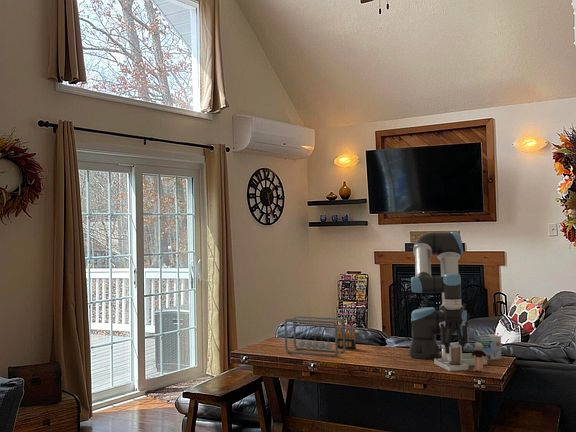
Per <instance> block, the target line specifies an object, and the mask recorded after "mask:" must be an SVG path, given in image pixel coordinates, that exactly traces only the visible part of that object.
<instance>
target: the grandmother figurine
mask: <svg viewBox="0 0 576 432" xmlns="http://www.w3.org/2000/svg"><path fill="white" fill-rule="evenodd" d="M482 347H483V346H482V344H481V343H480V342H476V343H475V342H474V350H473V351H472V352H471V353H472V355H471V358H473V357H474V355H475V366H474V368H473V369H472V371H473V372H478V371H483V372H484V365H483V357H482V356H484V357H485V359H486V360H487V361H489V360H488V358H487V355H486V354H485V353H484V352H483V351H481V348H482ZM475 348H476V350H475Z"/></svg>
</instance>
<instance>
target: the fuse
mask: <svg viewBox="0 0 576 432" xmlns="http://www.w3.org/2000/svg"><path fill="white" fill-rule="evenodd" d="M441 359H442V361H443V362H450V361H448V360H447V353H446V352H445V345H442V344H441Z"/></svg>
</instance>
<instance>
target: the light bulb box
mask: <svg viewBox="0 0 576 432" xmlns="http://www.w3.org/2000/svg"><path fill="white" fill-rule="evenodd" d="M501 340H502V336H500V335H497V334H494V333H493V334H480V335H479V334H478V335H474V344H475V343H476V342H480V343H481V344H482V346H483V347H482V348H481V351H483V352H484V353H485V354H486V355H487V358H488V360H487V361H490V360H501V359H502V341H501ZM475 350H476V348H475V347H474V351H475ZM483 357H484V356H483Z"/></svg>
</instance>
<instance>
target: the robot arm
mask: <svg viewBox="0 0 576 432" xmlns="http://www.w3.org/2000/svg"><path fill="white" fill-rule="evenodd" d="M412 253H413V256H414V258H415V259H414V260H415V261H414V269H415V270H414V271H415V272H414V273H415V274H414V275H415V276H412V277H411V279H410V287H411V292H412V293H418V294H419V293H420V294H423V293H424V294H426V293H427V294H429V293H431V294H433V293H434V294H435V293H436V294H437V293H438V294H439V293H441V300H442V304H441V305H440V306H439V310H436V308H435V307H430V306H429V307H421V308H417V309H414V310H412V312H411V319H410V321H411V341H410V346H409V350H408V356H409V357H411V358H414V359H420V360H421V359H423V360H424V359H427V360H428V359H435V358H436V359H438V358H440V357H441V351H440V348H439V347H440V346H439V344H438V342H437V335H439V336H440V344H441V346H442V345H445V352H446V353H447V360H448V361H452V359H451V346H449V345H450V343H451V339H452V336H456V337H457V343H459V352H460V360H462V354H463V353H464V350H465V349H464V347H465V345H467V344H468V325H469V322H468V321H467V319H468V311H467V310H465V309H464V306H463V305H462V279H461V274H459V261H458V260H460V258H461V256H462V255H463V254H464V248H463V239H462V236H461V234H460V233H459V232H455V231H454V232H452V231H449V232H428V233H425V234H422V235H421V236H419V238H417V240H415V242H414V244H413V248H412ZM431 256H436V257H437V259H438V260H439V262H440V276H435V275H434V276H432V265H431V264H432V263H431Z"/></svg>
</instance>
